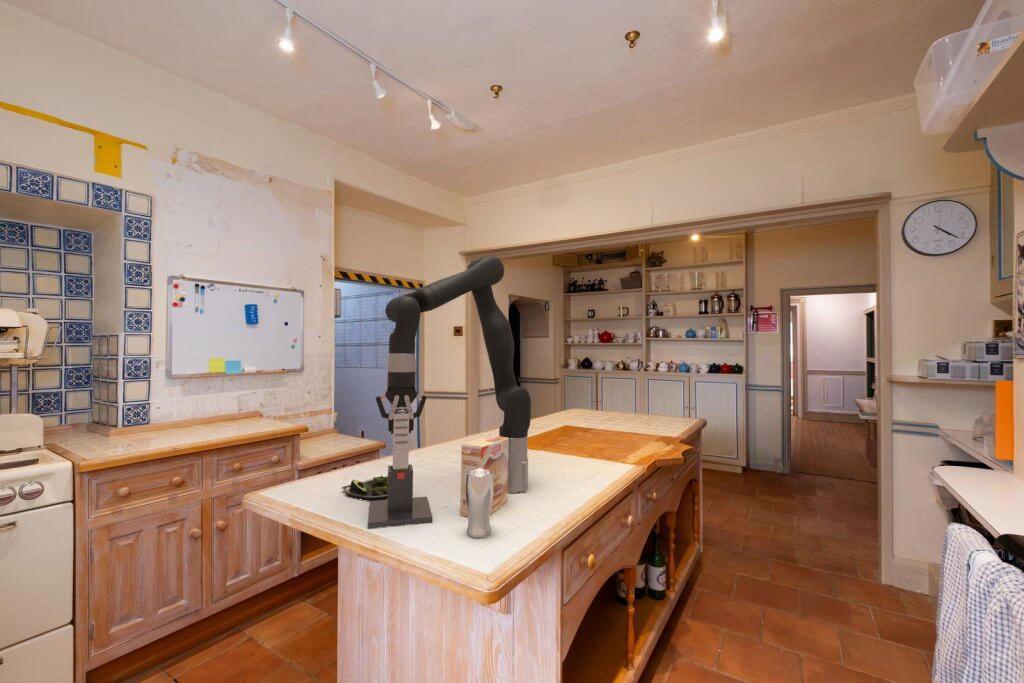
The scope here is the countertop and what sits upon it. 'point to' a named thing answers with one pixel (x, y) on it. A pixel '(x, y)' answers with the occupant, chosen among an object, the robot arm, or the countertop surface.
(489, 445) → the coffeecake box
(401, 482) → the stand
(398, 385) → the robot arm
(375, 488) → the salad plate
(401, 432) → the column
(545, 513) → the countertop surface
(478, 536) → the beer glass
